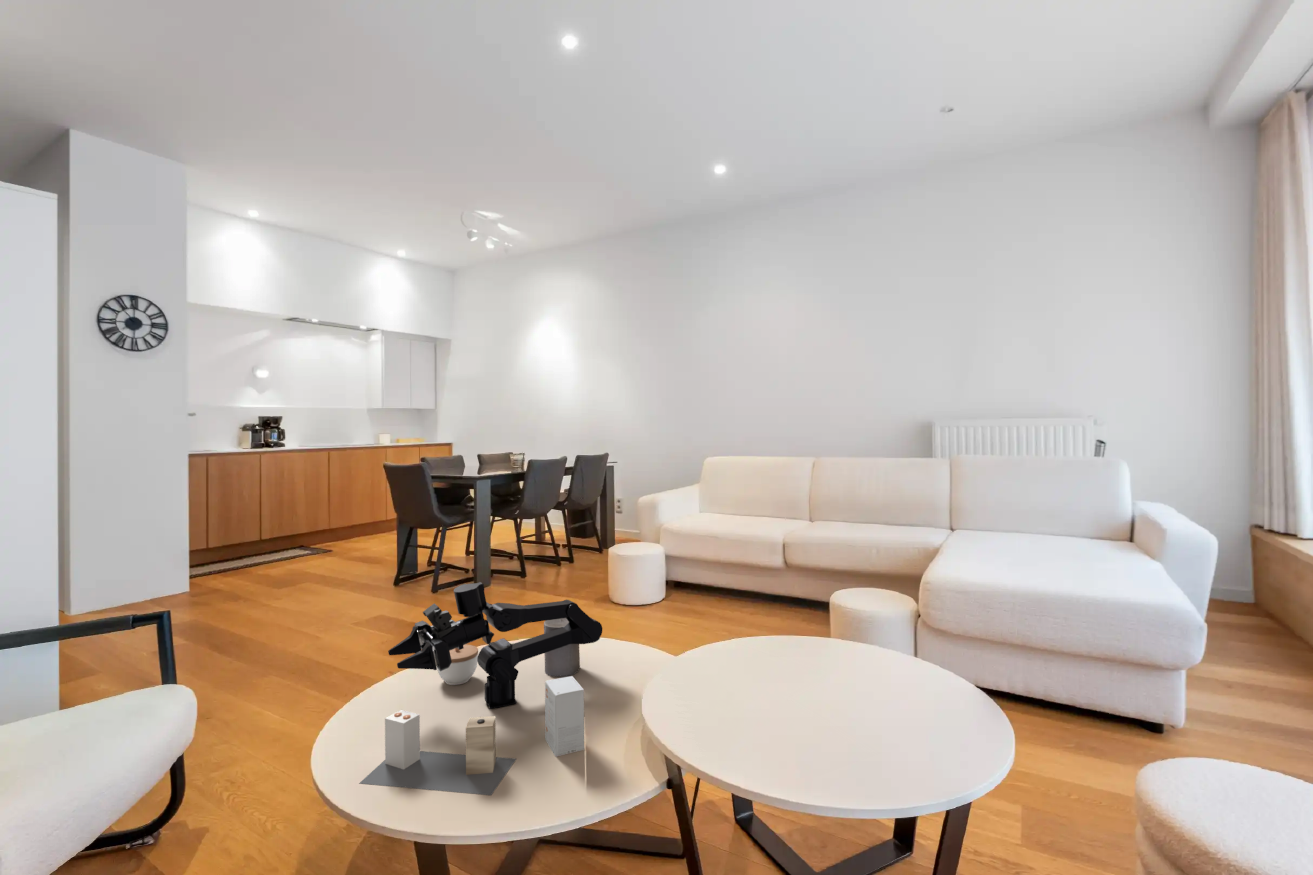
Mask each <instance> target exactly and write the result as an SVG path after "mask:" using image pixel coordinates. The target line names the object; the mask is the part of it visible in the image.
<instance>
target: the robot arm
mask: <svg viewBox="0 0 1313 875" xmlns="http://www.w3.org/2000/svg"><path fill="white" fill-rule="evenodd" d="M453 594H454V599H455V603H456V608H457V613H458V614H459V615H463V617H464V618H462V619H460V620H454V619H452V618H453V616H452V614H451V612H449V611H448V610H444V611H443V610H442V609H441V608H440V607H439V606H438V605H437V604H436V603H433V604H431V605H430V606H429V607H427V608H426V609H424V611H422V614H423V615H424V616H425V617H426V618H427V619H428V621H429V622H430V624H431V625H430V624H429V623H428V622H426V621H424V620H421V621H418V622H417V621H416V622H415V623H414V625H413V626H412V630H411V632H410V634H409V635H408V636H407V637H406V638H405V639H403V640H401V641H400V642H399V643H396V645H394V646H393V647H391V648H390V649H389V650H387V651H388V655H389V656H402V655H409V654H410V656H408V657H405V658H404V659H402V660H400V661H399V662H397V663H396V667H397V669H401V670H402V669H403V670H404V669H409V670H412V669H413V670H414V669H415V670H416V669H417V670H433V671H438V670H437V668H438V669H439V671H442V670H445V669H447V668H449V666H450V665H451V663H452V660H451V656H450V650H453V649H455V648H458V649H459V650H461V649H463V648H464V647H463V645H469V643H473V642H475V641H477V640H481V639H482V641H483V642H484V643H485V644H487V645H485V646H483V647H482V648H481V649H480V650H479V651H478V657H477V661H478V662H477V665H478V666H479V667H480V668H481V669H482V670H483V671H484V672H485V673H486V674H487V676H486V682H485V683H484V701H485V704H486V705H487V706H488V708H489V709H491V710H492V709H497V708H503V707H507V706H512V705H516V704H517V699H516V681H517V678H518V675H519V670H518V669H517V668H516V666H517V665H518V664H519V663H521V662H522V661H526V660H528V659H531V658H534V657H537V656H540V655H543V654H544V653H546V652H549V651H552V650H555V649H558V648H561V647H563V646H566V645H569V644H579V645H586V644H587V645H588V644H594V643H596V642H598V641H600V639H601V636H602V634H603V625H602V623H601V622H600V621H598V620H596V619H594V618H593V617H590V616H589V615H588V614H587V613H586V612H585V611H584V610H582V609H581V607H580V606H579V605H578V604H577V603H576V602H574V601H572V600H570V599H564V600H561V601H560V600H559V601H551V602H550V601H549V602H543V603H533V604H523V605H522V604H515V603H508V602H507V603H506V602H496V603H489V602H487V599H486V595H485V585H484V583H482V582H481V581H479V582H477V583H475V582H474V583H473V582H472V583H467V584H466V583H465V584H461V585H458V586H456V587H455V588H454V589H453ZM484 615H486V619H485V616H484ZM561 618H566V619H567V620H568V622H569V623H568V624H567V625H566V626H565V627H563V628H560V629H557V630H554V631H551V632H548V633H545V634H544V633H543V634H539V635H536V636H533V637H530V638H526V639H525V640H521V641H518V642H515V643H514V642H513V643H511V642H509V641H508V640H507V639H506V638H500V639H497V640H496V641H493V642H492V639H493V637H494V636H495V633H494V632H492V630H491V628H490V626H491V627H492V628H494V629H495V630H497V631H498V632H500V633H506V632H510V631H513V630H516V629H519V628H521V627H522V626H524V625H526V624H530V623H537V622H545V621H546V620H553V619H561Z"/></svg>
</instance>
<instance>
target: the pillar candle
mask: <svg viewBox="0 0 1313 875" xmlns="http://www.w3.org/2000/svg"><path fill="white" fill-rule="evenodd" d="M568 623H569V622H568V620H567V619H566V618H561V619H553V620H546V621H543V634H545V633H548V632H551V631H554V630H557V629H560V628H563V627H565V626H566V625H567V624H568ZM543 654H544V673H545V675H547V674H548V675H547V676H550V677H554V676H555V677H570V676H573V675H575V674H576V673H578V672H579V670H580V669H581V668H580V667H581V664H580V663H581V662H580V661H581V660H580V659H581V656H580V655H581V654H580V644H569V645H566V646H563V647H561V648H558V649H555V650H552V651H549V652H546V653H543Z"/></svg>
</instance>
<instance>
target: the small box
mask: <svg viewBox="0 0 1313 875" xmlns="http://www.w3.org/2000/svg"><path fill="white" fill-rule="evenodd" d="M544 682H545V683H544V692H545V693H544V695H545V696H544V697H545V698H544V699H545V700H544V708H545V709H544V713H545V715H544V716H545V718H544V720H545V721H544V722H545V723H544V727H545V729H544V733H545V734H544V736H545V737H544V739H545V742H546V743H547V745H548V747H549V748H550V750H551V752H552V754H553V755H554V757H560V756H564V755H568V754H572V753H576V752H579V751H585V689H584V688H583V687H582V685H581V684H580V683H579V681H577V680H576V679H575V677H574V676H573V675H570V676H563V677H559V678H553V679H547V680H545V681H544Z"/></svg>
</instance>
